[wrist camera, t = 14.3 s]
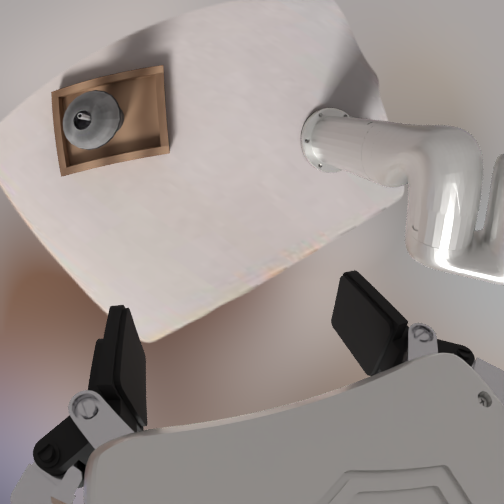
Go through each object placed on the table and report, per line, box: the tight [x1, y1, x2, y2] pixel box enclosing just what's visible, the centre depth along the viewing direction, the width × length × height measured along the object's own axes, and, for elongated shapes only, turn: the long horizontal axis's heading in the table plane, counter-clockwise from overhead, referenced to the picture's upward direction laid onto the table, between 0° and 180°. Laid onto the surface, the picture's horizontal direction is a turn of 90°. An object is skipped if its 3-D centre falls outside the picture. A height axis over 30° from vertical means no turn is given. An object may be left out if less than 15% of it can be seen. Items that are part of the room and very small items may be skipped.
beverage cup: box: [63, 90, 124, 150], centre depth 27 cm, size 7×7×20 cm
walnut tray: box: [51, 65, 170, 177], centre depth 35 cm, size 18×14×3 cm
